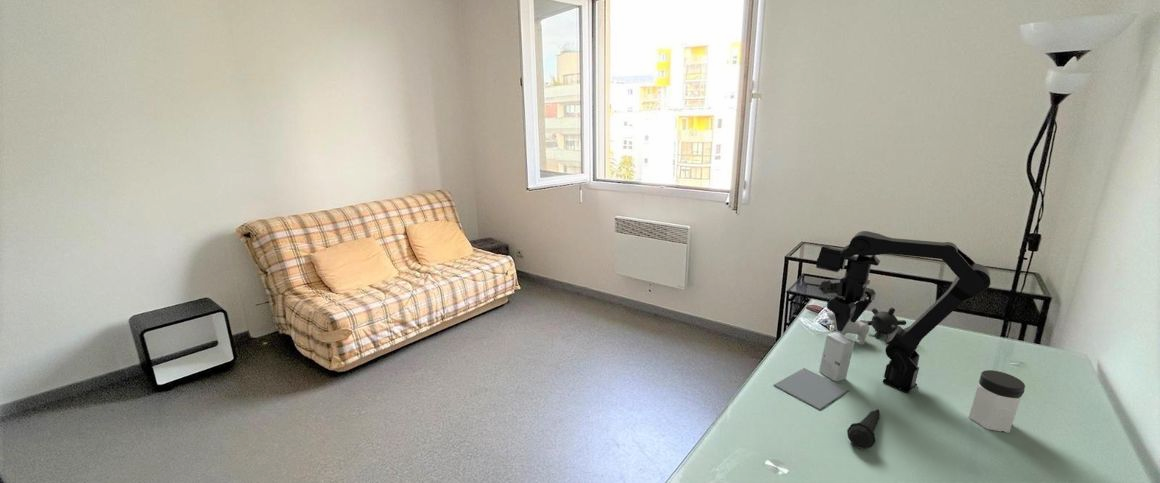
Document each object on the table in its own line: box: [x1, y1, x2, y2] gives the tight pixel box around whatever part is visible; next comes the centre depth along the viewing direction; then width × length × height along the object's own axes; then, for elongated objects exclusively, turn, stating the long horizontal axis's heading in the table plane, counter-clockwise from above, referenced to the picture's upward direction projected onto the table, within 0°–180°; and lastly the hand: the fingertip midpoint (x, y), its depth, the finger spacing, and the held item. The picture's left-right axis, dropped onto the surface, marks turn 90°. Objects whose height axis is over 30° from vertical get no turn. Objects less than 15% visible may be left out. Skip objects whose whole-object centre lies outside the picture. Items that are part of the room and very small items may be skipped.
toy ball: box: [867, 307, 907, 339], centre depth 161 cm, size 11×11×12 cm
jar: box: [968, 369, 1026, 433], centre depth 117 cm, size 9×8×12 cm
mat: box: [773, 367, 850, 411], centre depth 131 cm, size 13×15×1 cm
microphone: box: [846, 408, 881, 450], centre depth 115 cm, size 6×6×20 cm
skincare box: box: [818, 331, 856, 382], centre depth 136 cm, size 6×4×12 cm
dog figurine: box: [826, 311, 870, 345], centre depth 157 cm, size 5×13×11 cm, turn 75°
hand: (846, 326), depth 139 cm, fingers open, 9 cm apart
